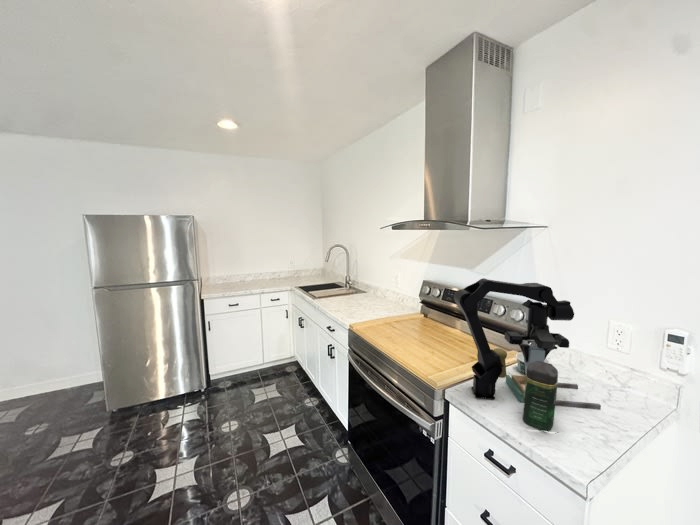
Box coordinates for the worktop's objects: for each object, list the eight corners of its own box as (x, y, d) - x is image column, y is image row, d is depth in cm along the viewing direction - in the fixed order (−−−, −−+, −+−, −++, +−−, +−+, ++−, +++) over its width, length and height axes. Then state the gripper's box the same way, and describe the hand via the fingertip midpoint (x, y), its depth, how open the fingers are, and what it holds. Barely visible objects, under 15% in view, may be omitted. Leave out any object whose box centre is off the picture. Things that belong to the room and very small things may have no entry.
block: (529, 369, 101) (530, 349, 100) (523, 363, 105) (525, 344, 105) (543, 370, 100) (545, 350, 99) (537, 364, 105) (538, 345, 104)
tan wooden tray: (522, 400, 100) (523, 389, 99) (510, 384, 110) (511, 374, 109) (554, 403, 98) (555, 391, 98) (540, 386, 108) (541, 376, 108)
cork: (508, 379, 115) (510, 353, 113) (492, 378, 116) (494, 352, 114) (503, 372, 120) (505, 347, 119) (488, 371, 122) (489, 345, 120)
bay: (516, 406, 98) (516, 396, 97) (499, 381, 113) (500, 372, 113) (603, 414, 93) (604, 403, 93) (573, 387, 109) (574, 378, 109)
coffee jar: (551, 436, 84) (557, 375, 81) (520, 424, 89) (524, 367, 86) (555, 419, 91) (560, 363, 89) (525, 409, 96) (530, 356, 94)
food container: (530, 364, 127) (531, 350, 126) (556, 378, 116) (557, 363, 115) (507, 368, 124) (508, 353, 123) (532, 382, 112) (533, 366, 112)
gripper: (517, 326, 94) (514, 371, 96) (581, 329, 91) (576, 376, 93) (505, 315, 105) (502, 356, 107) (562, 318, 102) (558, 360, 104)
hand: (533, 362), depth 103 cm, fingers closed on block, 4 cm apart
